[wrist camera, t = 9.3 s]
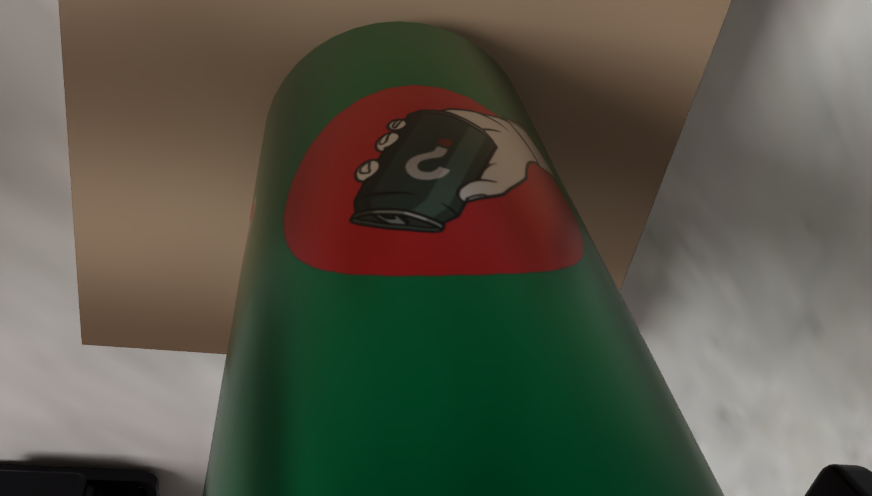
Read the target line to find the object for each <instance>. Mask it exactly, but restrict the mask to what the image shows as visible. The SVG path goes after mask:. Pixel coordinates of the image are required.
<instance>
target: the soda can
mask: <svg viewBox="0 0 872 496" xmlns="http://www.w3.org/2000/svg"><path fill="white" fill-rule="evenodd" d="M203 496H724V494H723V492H722V490H721V488H720V486H719V484H718V482H717V480H716V479H715V477H714V475H713V473H712V471H711V469H710V467H709V465H708V463H707V461H706V459H705V457H704V455H703V453H702V451H701V449H700V447H699V445H698V444H697V442H696V440H695V438H694V436H693V434H692V432H691V430H690V428H689V426H688V424H687V422H686V420H685V418H684V416H683V414H682V412H681V410H680V409H679V407H678V405H677V403H676V401H675V399H674V397H673V395H672V393H671V391H670V389H669V387H668V385H667V383H666V381H665V379H664V377H663V375H662V374H661V372H660V370H659V368H658V366H657V364H656V362H655V360H654V358H653V356H652V354H651V352H650V350H649V348H648V346H647V344H646V342H645V340H644V339H643V337H642V335H641V333H640V331H639V329H638V327H637V325H636V323H635V321H634V319H633V317H632V315H631V313H630V311H629V309H628V307H627V306H626V304H625V302H624V300H623V298H622V296H621V294H620V292H619V290H618V288H617V286H616V284H615V282H614V280H613V278H612V276H611V274H610V272H609V271H608V269H607V267H606V265H605V263H604V261H603V259H602V257H601V255H600V253H599V251H598V249H597V247H596V245H595V243H594V241H593V239H592V237H591V236H590V234H589V232H588V230H587V228H586V226H585V224H584V222H583V220H582V218H581V216H580V214H579V212H578V210H577V208H576V206H575V204H574V202H573V201H572V199H571V197H570V195H569V193H568V191H567V189H566V187H565V185H564V183H563V181H562V179H561V177H560V175H559V173H558V171H557V169H556V167H555V166H554V164H553V162H552V160H551V158H550V156H549V154H548V152H547V150H546V148H545V146H544V144H543V142H542V140H541V138H540V136H539V134H538V132H537V131H536V129H535V127H534V125H533V123H532V121H531V119H530V117H529V115H528V113H527V111H526V109H525V107H524V105H523V103H522V101H521V99H520V98H519V96H518V94H517V92H516V90H515V88H514V86H513V84H512V82H511V81H510V79H509V77H508V76H507V75H506V73H505V72H504V71H503V70H502V68H501V67H500V66H499V65H498V63H497V62H496V61H495V60H494V59H493V58H491V57H490V56H489V55H488V54H487V53H486V52H485V51H484V50H483V49H482V48H480V47H478V46H477V45H475V44H474V43H472V42H471V41H469V40H467V39H466V38H464V37H462V36H460V35H458V34H455V33H453V32H451V31H448V30H446V29H444V28H440V27H436V26H432V25H427V24H423V23H415V22H403V21H395V22H382V23H374V24H370V25H365V26H361V27H357V28H353V29H351V30H348V31H346V32H344V33H341V34H339V35H336V36H334V37H332V38H330V39H329V40H327V41H325V42H324V43H322V44H321V45H319V46H317V47H316V48H314V49H313V50H312V51H311V52H310V53H308V54H307V55H306V56H305V57H304V58H303V59H301V60H300V61H299V62H298V63H297V64H296V65H295V67H294V68H293V69H292V70H291V71H290V73H289V74H288V75H287V76H286V77H285V79H284V80H283V82H282V84H281V85H280V87H279V89H278V91H277V92H276V94H275V96H274V98H273V101H272V103H271V106H270V109H269V112H268V114H267V119H266V124H265V130H264V136H263V142H262V147H261V153H260V159H259V165H258V171H257V177H256V183H255V189H254V195H253V201H252V207H251V213H250V219H249V225H248V231H247V236H246V242H245V248H244V254H243V260H242V266H241V272H240V278H239V284H238V290H237V296H236V302H235V308H234V314H233V320H232V325H231V331H230V337H229V343H228V349H227V355H226V361H225V367H224V373H223V379H222V385H221V391H220V397H219V403H218V409H217V414H216V420H215V426H214V432H213V438H212V444H211V450H210V456H209V462H208V468H207V474H206V480H205V486H204V492H203Z"/></svg>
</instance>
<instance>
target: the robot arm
mask: <svg viewBox="0 0 872 496" xmlns="http://www.w3.org/2000/svg"><path fill="white" fill-rule="evenodd" d="M140 487H142V488H140ZM0 496H159V480H158V478H157V477H156V476H155V475H154V474H152V473H150V472H147V471H139V470H113V469H87V468H61V467H35V466H9V465H0ZM805 496H872V472H871V471H870V470H868V469H866V468H864V467H861V466H857V465H839V464H832V465H828V466H826V467H825V468H823V469H822V470H821V472H820V473H819V475H818V476H817V478H816V479H815V481H814V482H813V484H812V485H811V487H810V488H809V490H808V491H807V493H806V494H805Z"/></svg>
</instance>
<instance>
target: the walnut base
mask: <svg viewBox="0 0 872 496" xmlns="http://www.w3.org/2000/svg"><path fill="white" fill-rule="evenodd" d="M731 1H732V0H59V14H60V29H61V44H62V58H63V73H64V88H65V102H66V117H67V132H68V146H69V161H70V176H71V191H72V205H73V220H74V235H75V249H76V264H77V279H78V293H79V308H80V323H81V337H82V344H84V345H99V346H113V347H128V348H143V349H158V350H173V351H188V352H202V353H217V354H227V349H228V343H229V337H230V331H231V325H232V320H233V314H234V308H235V302H236V296H237V290H238V284H239V278H240V272H241V266H242V260H243V254H244V248H245V242H246V236H247V231H248V225H249V219H250V213H251V207H252V201H253V195H254V189H255V183H256V177H257V171H258V165H259V159H260V153H261V147H262V142H263V136H264V130H265V124H266V119H267V114H268V112H269V109H270V106H271V103H272V101H273V98H274V96H275V94H276V92H277V91H278V89H279V87H280V85H281V84H282V82H283V80H284V79H285V77H286V76H287V75H288V74H289V73H290V71H291V70H292V69H293V68H294V67H295V65H296V64H297V63H298V62H299V61H300V60H301V59H303V58H304V57H305V56H306V55H307V54H308V53H310V52H311V51H312V50H313V49H314V48H316V47H317V46H319V45H321V44H322V43H324V42H325V41H327V40H329V39H330V38H332V37H334V36H336V35H339V34H341V33H344V32H346V31H348V30H351V29H353V28H357V27H361V26H365V25H370V24H374V23H382V22H395V21H403V22H415V23H423V24H427V25H432V26H436V27H440V28H444V29H446V30H448V31H451V32H453V33H455V34H458V35H460V36H462V37H464V38H466V39H467V40H469V41H471V42H472V43H474V44H475V45H477V46H478V47H480V48H482V49H483V50H484V51H485V52H486V53H487V54H488V55H489V56H490V57H491V58H493V59H494V60H495V61H496V62H497V63H498V65H499V66H500V67H501V68H502V70H503V71H504V72H505V73H506V75H507V76H508V77H509V79H510V81H511V82H512V84H513V86H514V88H515V90H516V92H517V94H518V96H519V98H520V99H521V101H522V103H523V105H524V107H525V109H526V111H527V113H528V115H529V117H530V119H531V121H532V123H533V125H534V127H535V129H536V131H537V132H538V134H539V136H540V138H541V140H542V142H543V144H544V146H545V148H546V150H547V152H548V154H549V156H550V158H551V160H552V162H553V164H554V166H555V167H556V169H557V171H558V173H559V175H560V177H561V179H562V181H563V183H564V185H565V187H566V189H567V191H568V193H569V195H570V197H571V199H572V201H573V202H574V204H575V206H576V208H577V210H578V212H579V214H580V216H581V218H582V220H583V222H584V224H585V226H586V228H587V230H588V232H589V234H590V236H591V237H592V239H593V241H594V243H595V245H596V247H597V249H598V251H599V253H600V255H601V257H602V259H603V261H604V263H605V265H606V267H607V269H608V271H609V272H610V274H611V276H612V278H613V280H614V282H615V284H616V286H617V288H618V290H619V291H620V288H621V286H622V283H623V281H624V278H625V276H626V273H627V270H628V268H629V265H630V263H631V260H632V257H633V255H634V252H635V250H636V247H637V244H638V242H639V239H640V237H641V234H642V231H643V229H644V226H645V224H646V221H647V218H648V216H649V213H650V211H651V208H652V206H653V203H654V200H655V198H656V195H657V193H658V190H659V187H660V185H661V182H662V180H663V177H664V174H665V172H666V169H667V167H668V164H669V161H670V159H671V156H672V154H673V151H674V149H675V146H676V143H677V141H678V138H679V136H680V133H681V130H682V128H683V125H684V123H685V120H686V117H687V115H688V112H689V110H690V107H691V104H692V102H693V99H694V97H695V94H696V91H697V89H698V86H699V84H700V81H701V79H702V76H703V73H704V71H705V68H706V66H707V63H708V60H709V58H710V55H711V53H712V50H713V47H714V45H715V42H716V40H717V37H718V34H719V32H720V29H721V27H722V24H723V21H724V19H725V16H726V14H727V11H728V9H729V6H730V3H731Z"/></svg>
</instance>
